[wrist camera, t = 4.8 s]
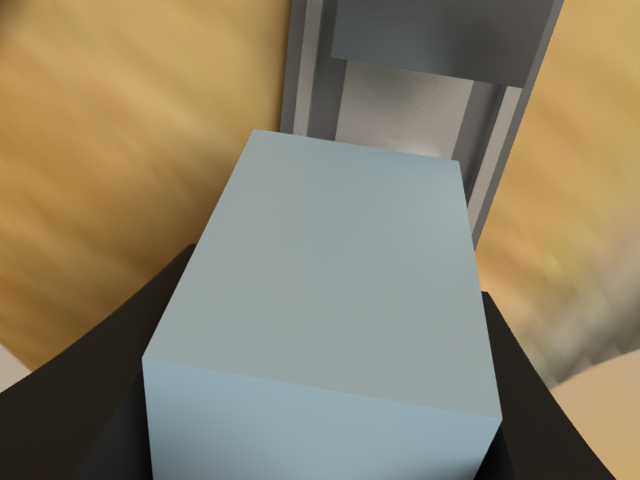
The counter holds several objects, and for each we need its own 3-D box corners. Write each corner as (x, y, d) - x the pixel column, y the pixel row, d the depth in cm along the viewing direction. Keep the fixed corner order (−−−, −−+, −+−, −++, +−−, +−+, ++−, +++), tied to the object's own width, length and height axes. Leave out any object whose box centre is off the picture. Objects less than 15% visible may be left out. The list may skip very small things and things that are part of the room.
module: (416, 312, 14) (425, 586, 9) (243, 284, 14) (155, 538, 9) (461, 161, 11) (507, 420, 6) (251, 127, 11) (137, 357, 6)
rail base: (458, 272, 22) (473, 388, 17) (273, 240, 22) (239, 347, 17) (585, -97, 15) (667, -62, 10) (310, -140, 15) (269, -126, 10)
